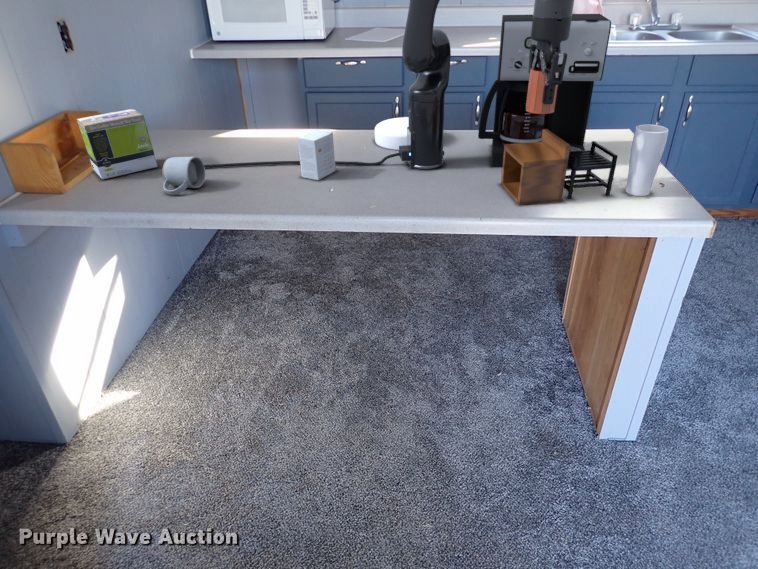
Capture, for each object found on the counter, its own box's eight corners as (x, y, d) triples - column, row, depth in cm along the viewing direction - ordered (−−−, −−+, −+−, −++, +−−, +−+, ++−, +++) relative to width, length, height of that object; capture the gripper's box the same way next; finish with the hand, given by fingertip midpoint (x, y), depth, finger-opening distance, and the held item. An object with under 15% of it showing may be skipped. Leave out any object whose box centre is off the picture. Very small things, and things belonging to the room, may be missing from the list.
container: (443, 149, 159) (444, 133, 156) (375, 151, 159) (374, 135, 156) (436, 130, 176) (437, 115, 173) (374, 132, 176) (374, 117, 174)
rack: (568, 199, 125) (574, 158, 120) (549, 182, 134) (554, 143, 129) (609, 196, 126) (618, 155, 121) (588, 179, 135) (594, 141, 130)
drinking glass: (634, 200, 123) (649, 134, 116) (615, 189, 129) (628, 125, 121) (659, 196, 125) (676, 130, 117) (640, 186, 130) (654, 122, 123)
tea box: (147, 159, 158) (134, 107, 151) (158, 168, 151) (144, 114, 144) (92, 171, 151) (75, 116, 143) (101, 180, 144) (83, 124, 136)
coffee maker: (476, 166, 145) (485, 21, 127) (477, 144, 161) (486, 13, 143) (586, 170, 140) (613, 20, 122) (576, 147, 157) (599, 11, 138)
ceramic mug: (180, 179, 143) (173, 150, 139) (208, 181, 141) (202, 152, 137) (156, 195, 134) (148, 165, 130) (185, 197, 132) (178, 167, 128)
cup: (531, 114, 116) (536, 72, 112) (521, 107, 121) (526, 67, 117) (558, 113, 117) (565, 71, 112) (547, 106, 122) (553, 66, 117)
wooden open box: (519, 205, 123) (525, 148, 116) (500, 184, 134) (505, 131, 127) (561, 201, 124) (570, 145, 117) (539, 181, 135) (546, 128, 128)
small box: (319, 168, 148) (315, 129, 142) (336, 171, 145) (333, 131, 140) (301, 177, 142) (296, 137, 136) (318, 180, 139) (314, 140, 134)
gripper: (521, 11, 115) (513, 93, 123) (548, 18, 102) (537, 109, 111) (556, 9, 115) (545, 92, 124) (586, 16, 103) (572, 107, 112)
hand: (541, 99), depth 118 cm, fingers closed on cup, 6 cm apart
